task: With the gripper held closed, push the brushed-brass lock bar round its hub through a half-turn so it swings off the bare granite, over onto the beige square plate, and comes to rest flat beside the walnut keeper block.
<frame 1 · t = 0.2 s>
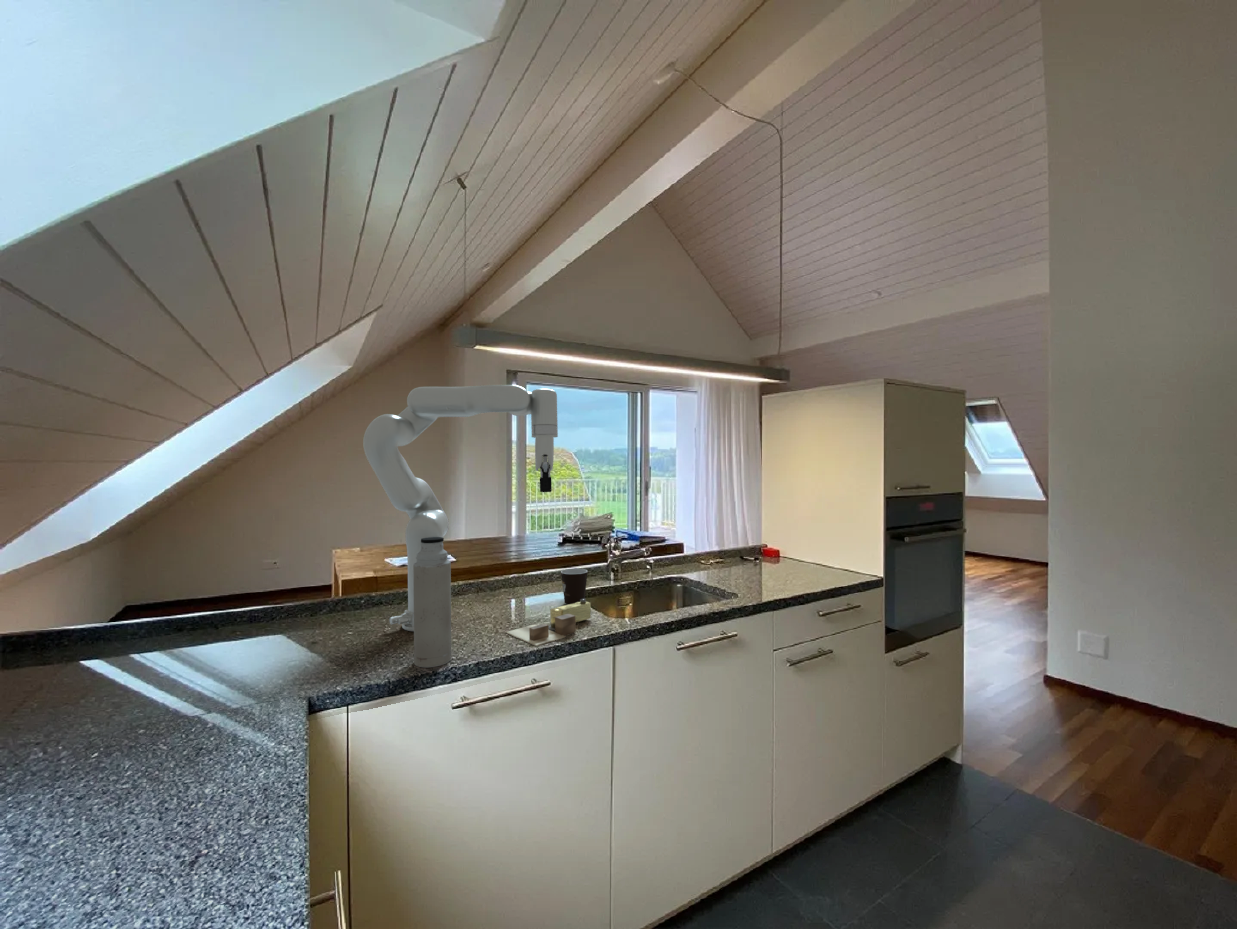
hand: (545, 491, 147), 37 cm above the countertop, tool pointing down, fingers open, 9 cm apart
thermos bottle: (433, 661, 115), on the countertop
beige square plate: (535, 635, 132), on the countertop
keeper: (539, 639, 129), resting on beige square plate
lock bar: (569, 612, 141), point 3 cm above the countertop, hinge at 0.0°
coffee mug: (575, 601, 166), on the countertop
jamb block: (565, 633, 134), on the countertop
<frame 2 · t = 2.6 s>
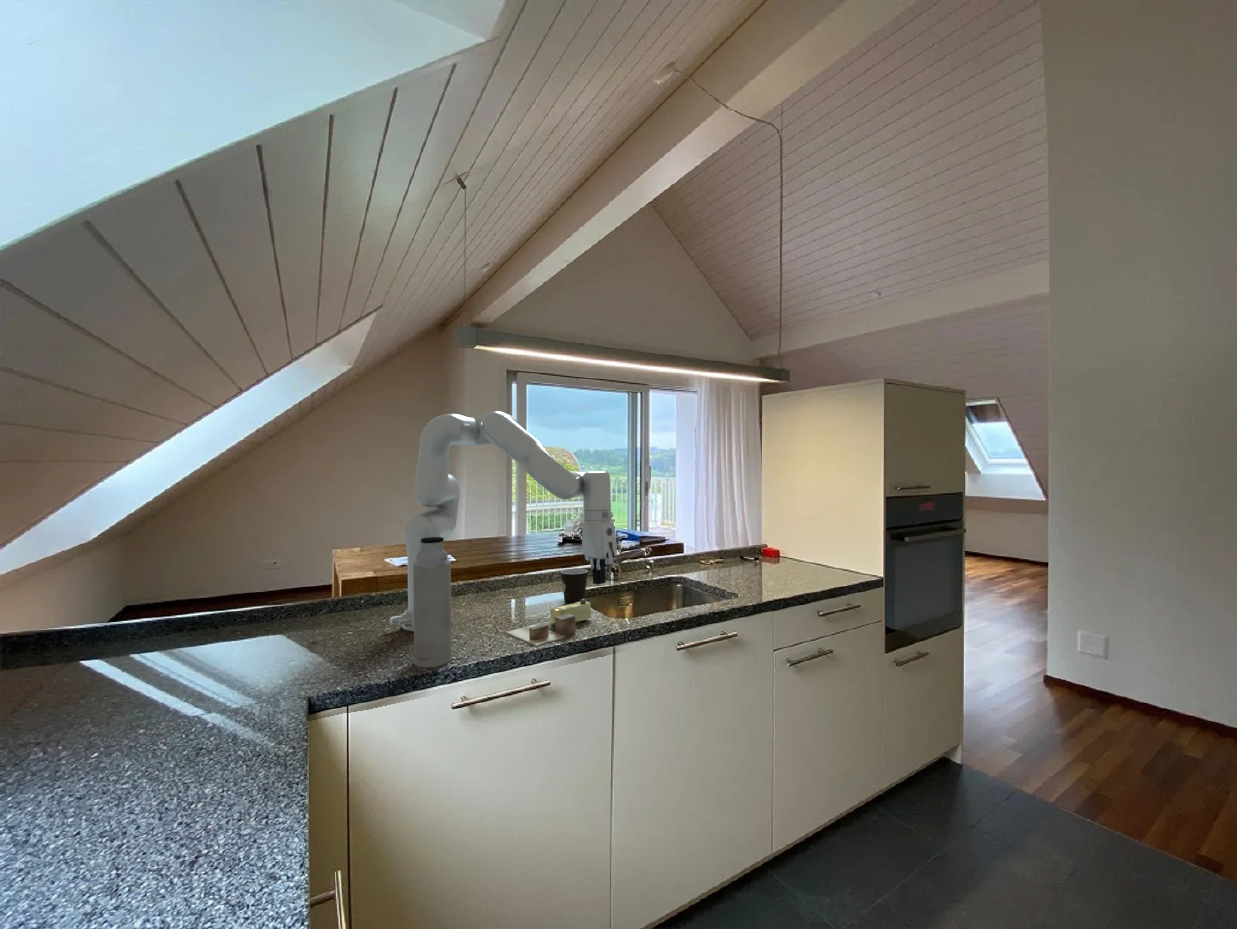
hand: (599, 583, 139), 12 cm above the countertop, tool pointing down, fingers closed
nothing on the countertop moved.
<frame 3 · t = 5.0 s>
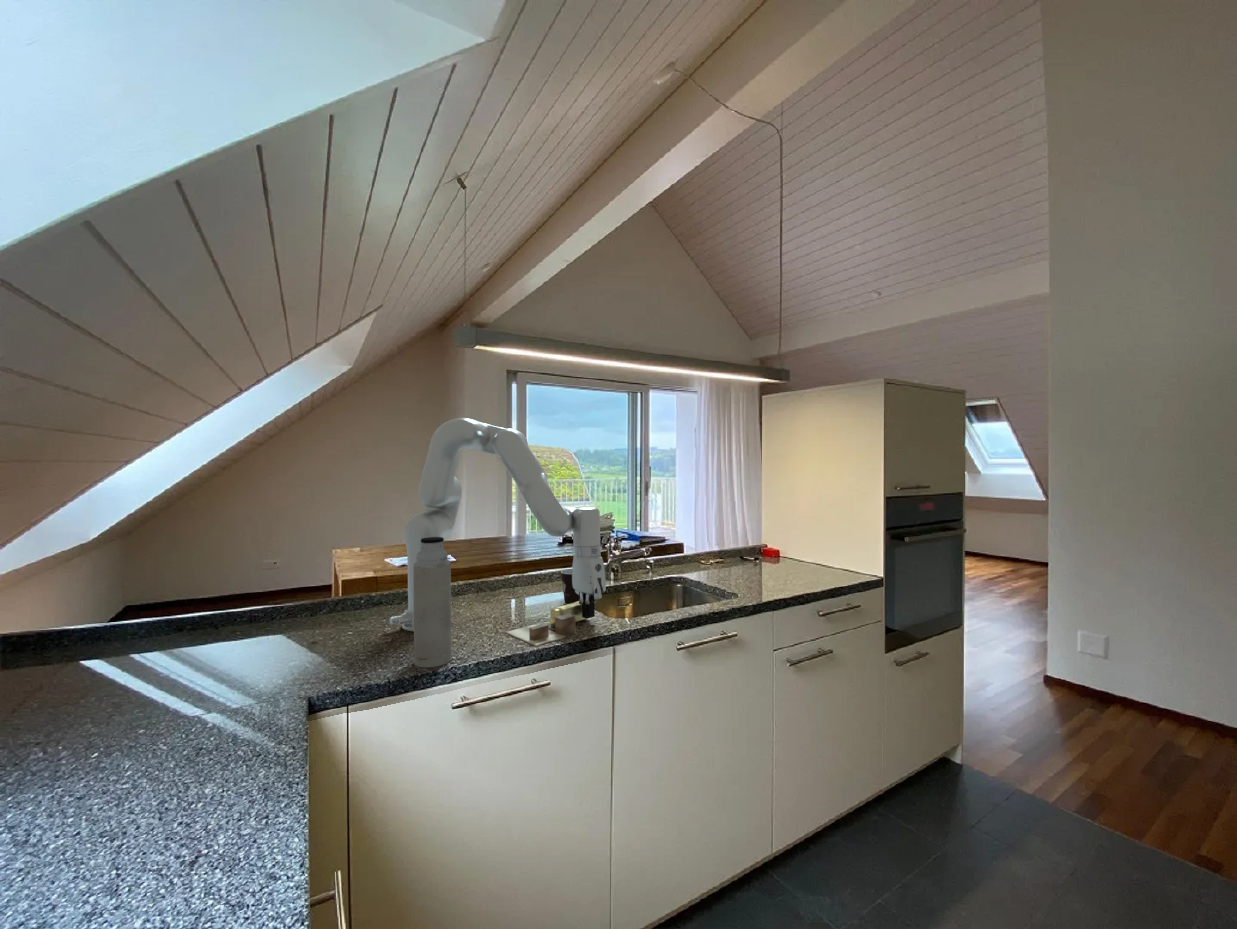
hand: (588, 617, 142), 2 cm above the countertop, tool pointing down, fingers closed
lock bar: (569, 612, 142), point 3 cm above the countertop, hinge at 3.4°, touching gripper
everything else where it was.
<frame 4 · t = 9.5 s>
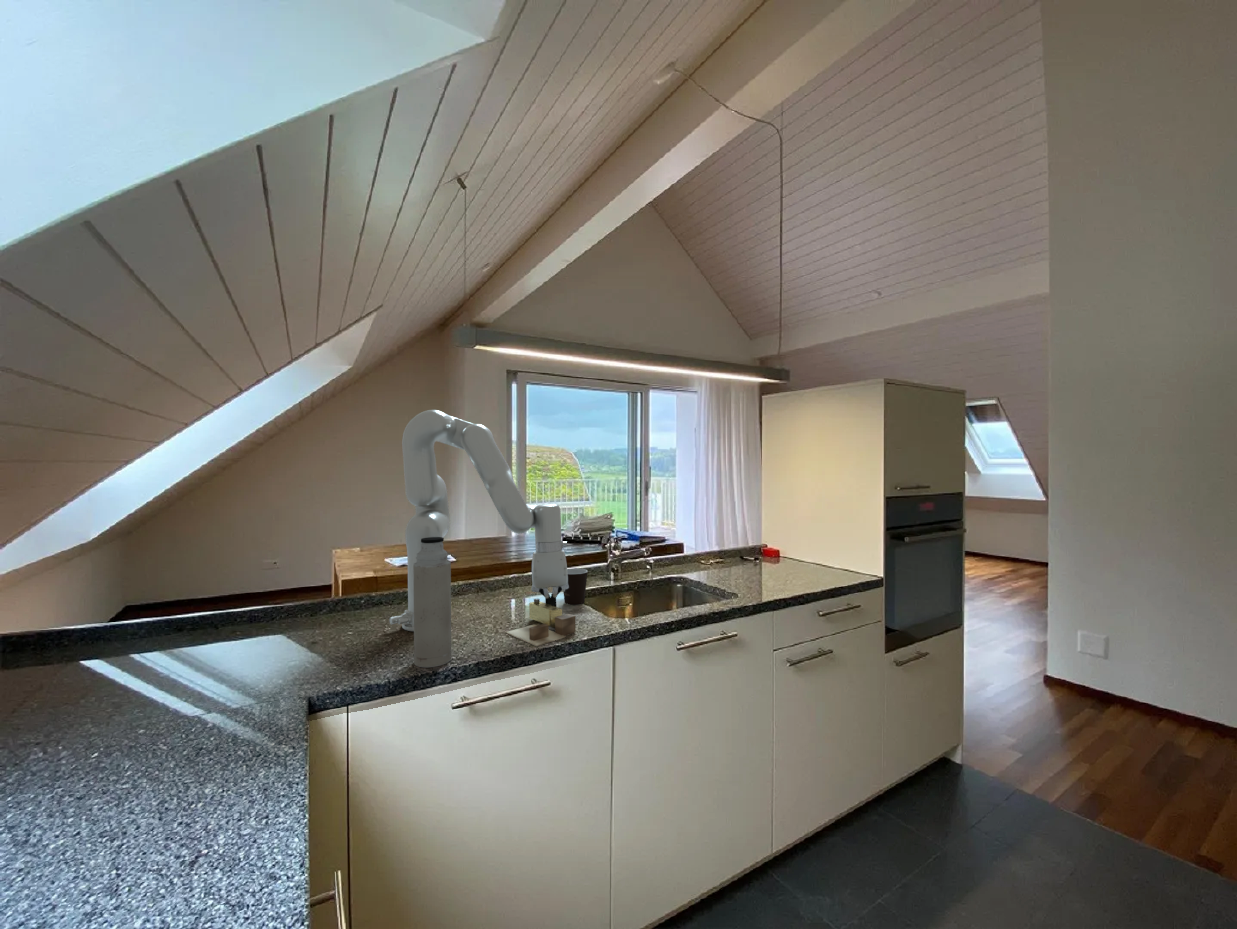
hand: (551, 610, 146), 2 cm above the countertop, tool pointing down, fingers closed
lock bar: (546, 612, 142), point 3 cm above the countertop, hinge at 88.9°, touching gripper
everything else where it was.
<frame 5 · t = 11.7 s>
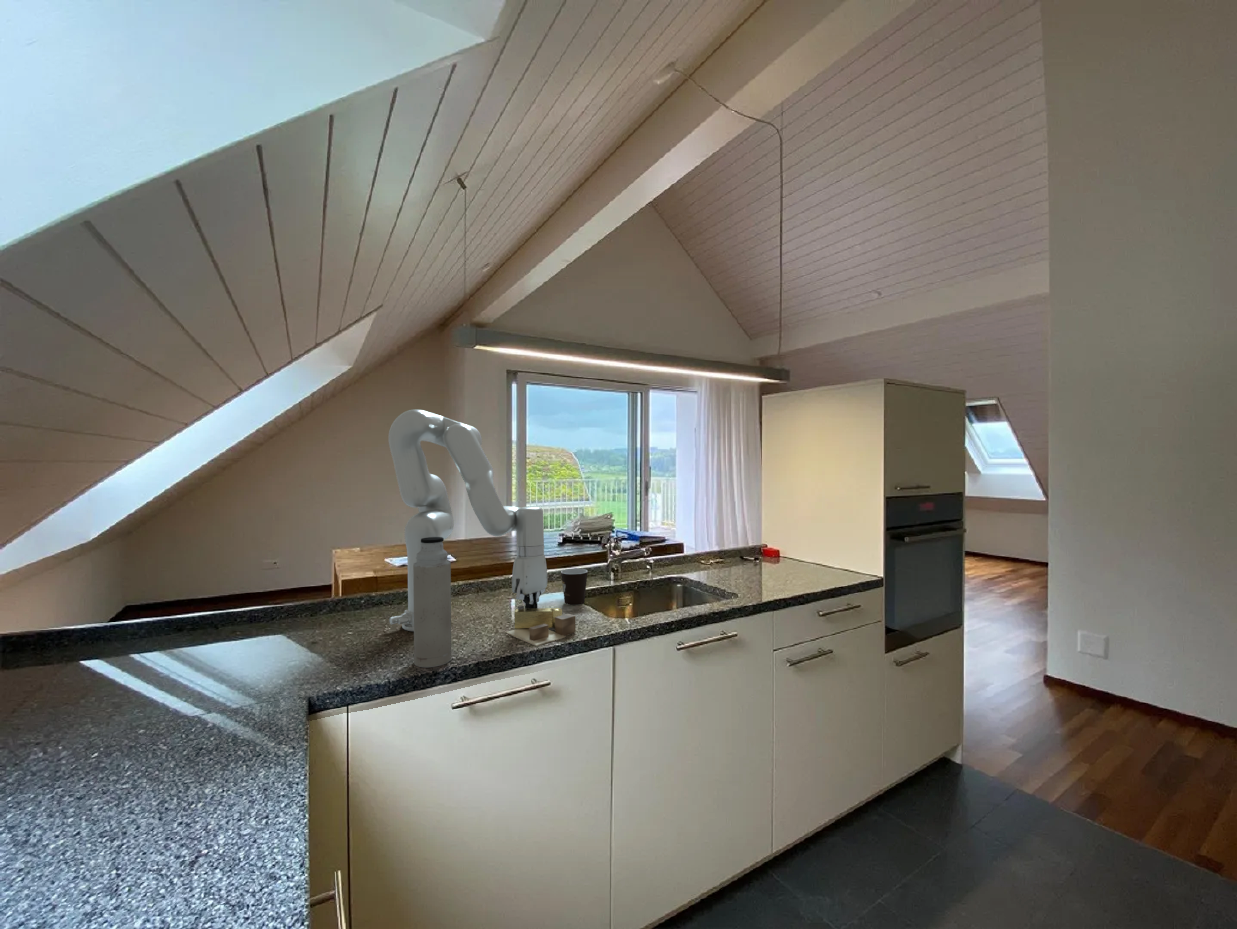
hand: (531, 617, 142), 2 cm above the countertop, tool pointing down, fingers closed
lock bar: (538, 616, 138), point 3 cm above the countertop, hinge at 139.2°, touching gripper
everything else where it was.
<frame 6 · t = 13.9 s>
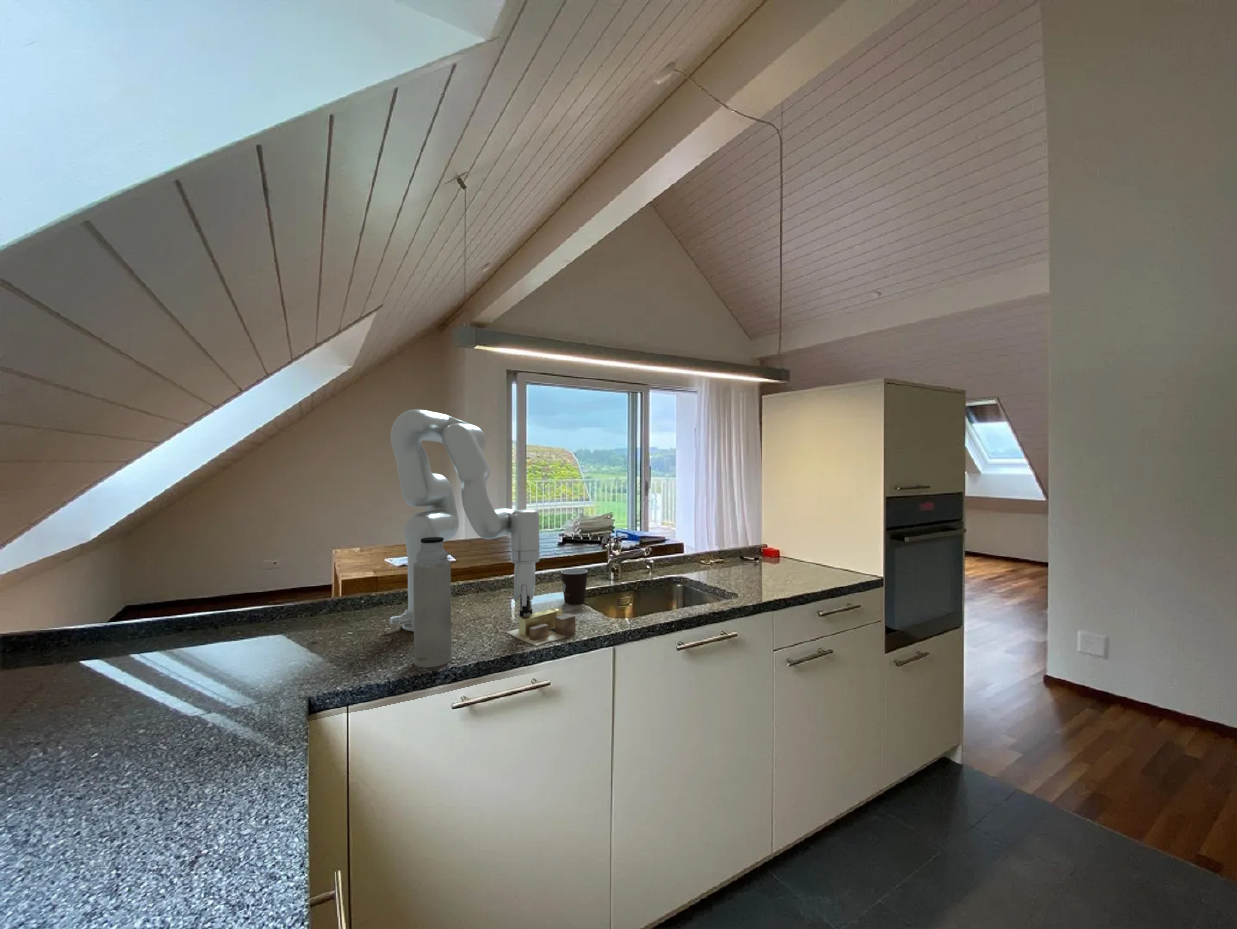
hand: (526, 624, 136), 2 cm above the countertop, tool pointing down, fingers closed
lock bar: (542, 619, 135), point 3 cm above the countertop, hinge at 181.0°
everything else where it was.
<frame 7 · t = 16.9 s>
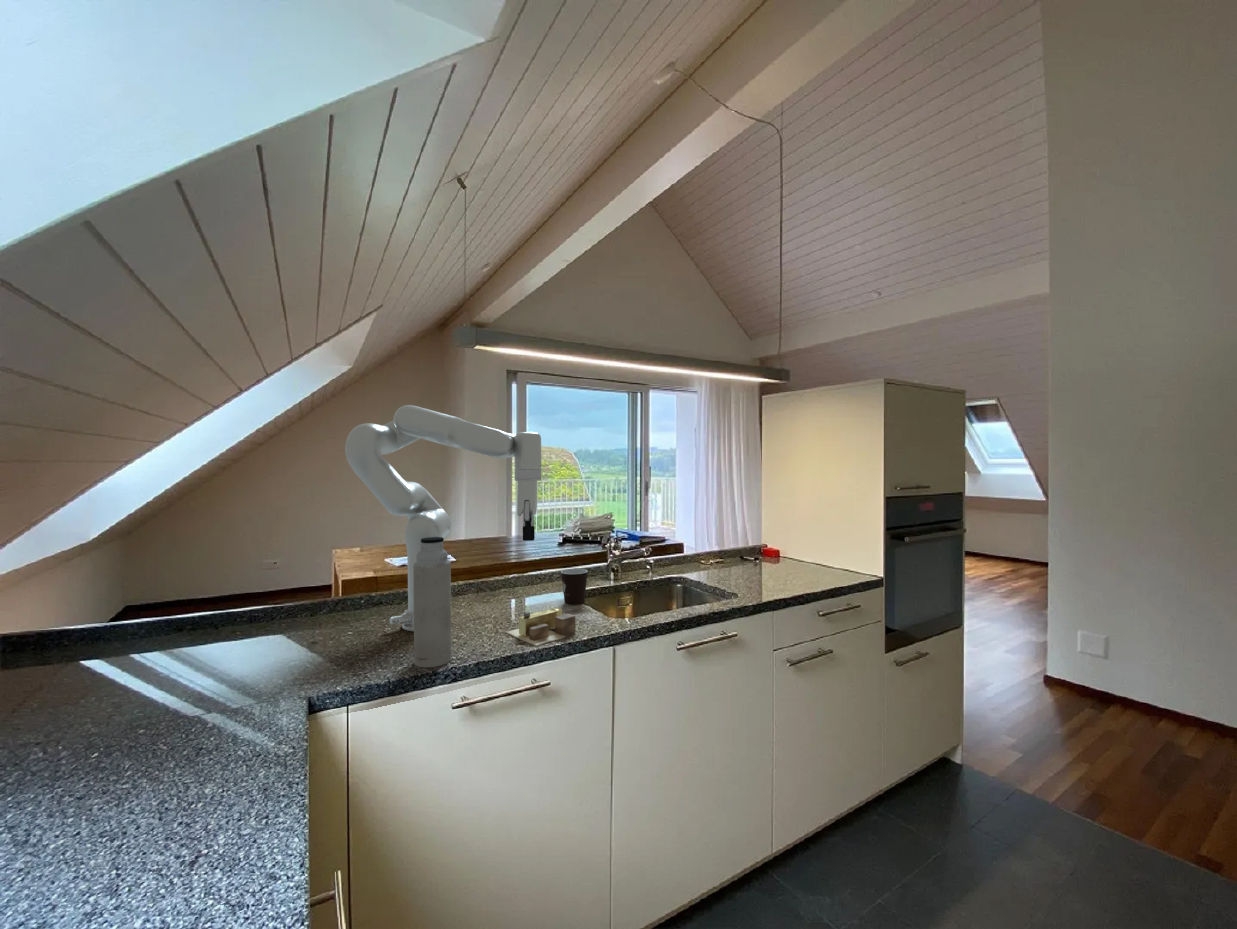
hand: (528, 540, 144), 23 cm above the countertop, tool pointing down, fingers closed
nothing on the countertop moved.
at the end: lock bar at +181° (first picture: +0°) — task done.
